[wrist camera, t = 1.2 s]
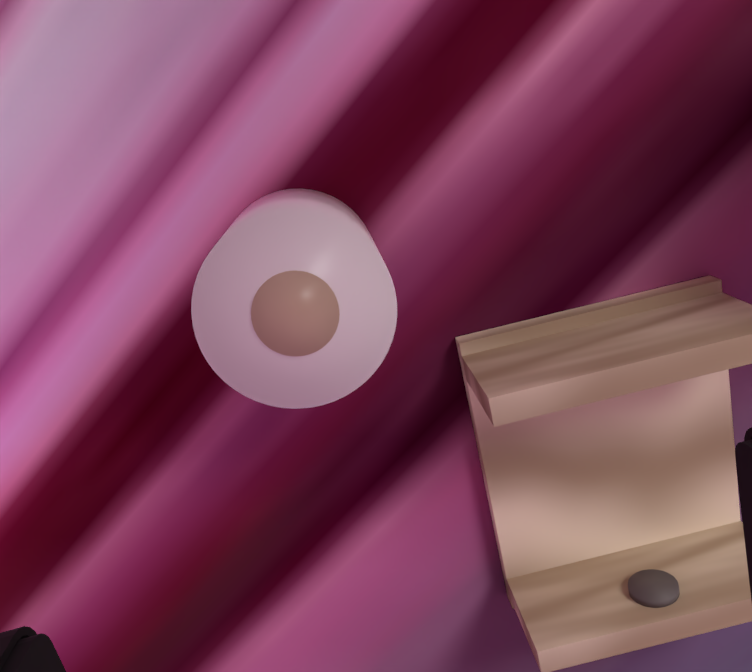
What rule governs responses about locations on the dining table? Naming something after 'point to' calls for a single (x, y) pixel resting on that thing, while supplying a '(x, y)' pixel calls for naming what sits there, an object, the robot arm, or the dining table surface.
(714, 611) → the holder
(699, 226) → the dining table surface
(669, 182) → the dining table surface
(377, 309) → the white rounded cylinder
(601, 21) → the dining table surface
